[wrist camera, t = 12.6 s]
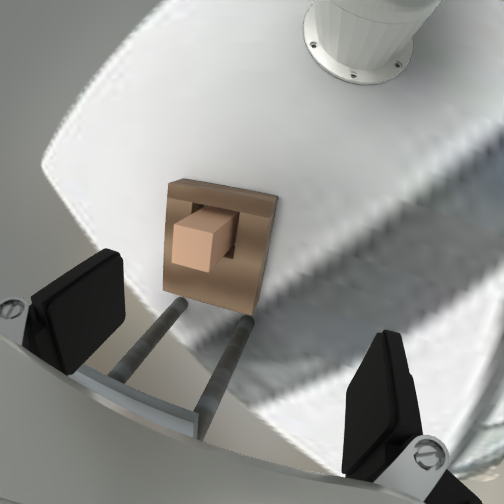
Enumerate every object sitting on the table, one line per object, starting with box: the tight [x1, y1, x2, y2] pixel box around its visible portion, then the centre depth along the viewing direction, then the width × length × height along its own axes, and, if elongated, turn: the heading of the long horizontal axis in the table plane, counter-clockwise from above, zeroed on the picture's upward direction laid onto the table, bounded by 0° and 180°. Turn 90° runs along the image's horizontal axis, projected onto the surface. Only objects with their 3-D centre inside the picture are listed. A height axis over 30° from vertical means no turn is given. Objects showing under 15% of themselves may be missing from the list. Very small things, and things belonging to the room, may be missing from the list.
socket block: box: [68, 179, 278, 441], centre depth 30 cm, size 20×12×23 cm, turn 171°
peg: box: [172, 205, 240, 273], centre depth 33 cm, size 4×4×10 cm
